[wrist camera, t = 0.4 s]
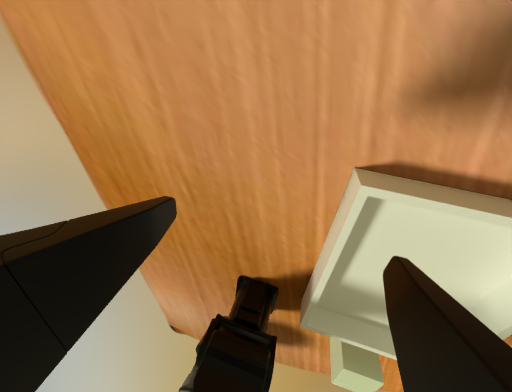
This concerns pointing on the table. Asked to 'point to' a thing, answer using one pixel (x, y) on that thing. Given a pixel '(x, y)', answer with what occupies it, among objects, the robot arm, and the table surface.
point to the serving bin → (409, 256)
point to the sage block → (355, 367)
